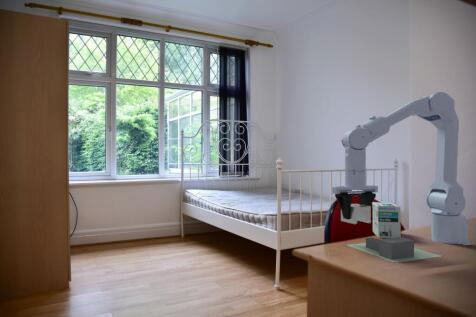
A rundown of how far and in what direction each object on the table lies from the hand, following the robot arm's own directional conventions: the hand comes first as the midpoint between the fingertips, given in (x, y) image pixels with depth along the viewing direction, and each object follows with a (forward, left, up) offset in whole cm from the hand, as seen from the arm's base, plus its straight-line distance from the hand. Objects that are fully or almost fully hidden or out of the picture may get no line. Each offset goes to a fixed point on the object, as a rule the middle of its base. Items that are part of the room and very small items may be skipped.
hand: (355, 218), depth 102 cm
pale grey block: (0, 0, -1) cm, 1 cm away
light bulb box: (-16, -5, -8) cm, 19 cm away
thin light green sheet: (-3, +11, -8) cm, 14 cm away
